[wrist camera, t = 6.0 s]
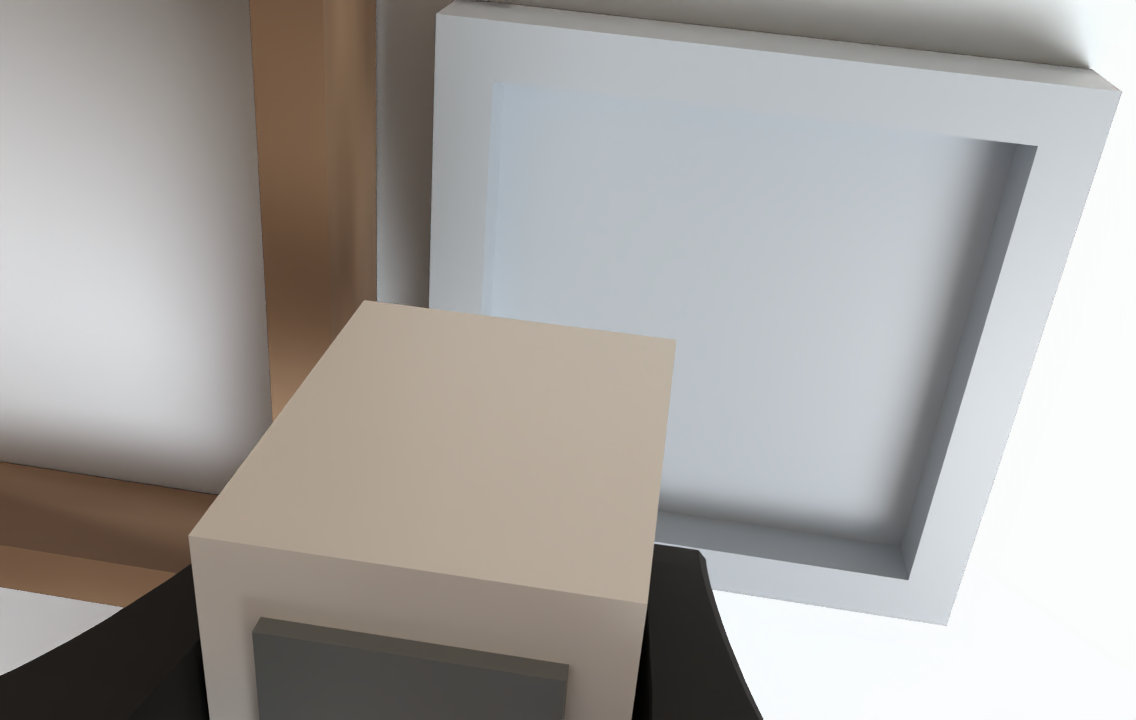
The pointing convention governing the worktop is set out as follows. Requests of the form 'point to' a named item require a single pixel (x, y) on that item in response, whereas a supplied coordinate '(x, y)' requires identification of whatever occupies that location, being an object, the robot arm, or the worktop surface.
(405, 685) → the block
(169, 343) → the worktop surface
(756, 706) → the robot arm
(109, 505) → the open case
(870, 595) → the tray
